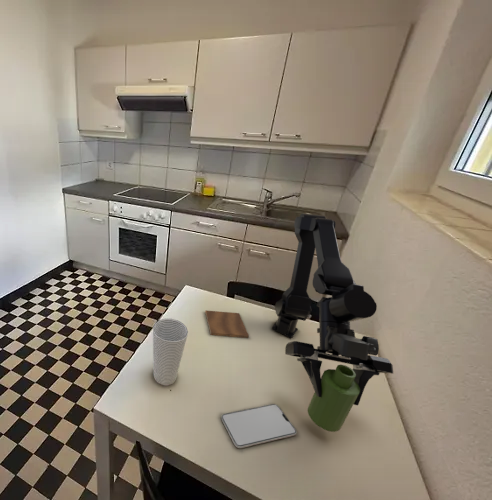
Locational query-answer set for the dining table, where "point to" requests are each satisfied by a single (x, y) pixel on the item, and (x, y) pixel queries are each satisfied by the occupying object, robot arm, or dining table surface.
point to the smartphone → (257, 425)
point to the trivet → (226, 324)
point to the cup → (168, 349)
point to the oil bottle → (334, 398)
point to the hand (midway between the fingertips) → (336, 400)
